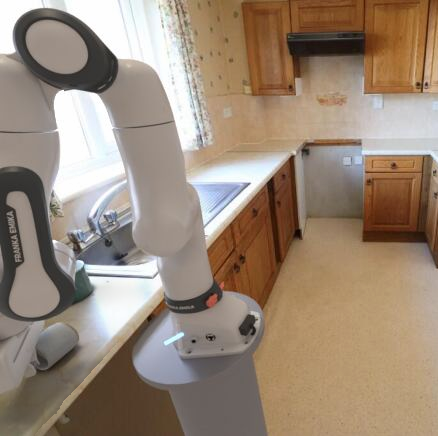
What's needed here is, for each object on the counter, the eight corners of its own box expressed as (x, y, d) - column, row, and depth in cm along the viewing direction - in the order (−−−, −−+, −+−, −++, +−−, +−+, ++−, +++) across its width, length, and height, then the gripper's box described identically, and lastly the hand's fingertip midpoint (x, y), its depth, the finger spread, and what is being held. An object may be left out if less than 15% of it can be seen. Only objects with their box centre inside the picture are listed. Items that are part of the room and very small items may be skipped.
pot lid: (94, 263, 98) (89, 251, 96) (63, 285, 88) (57, 272, 86) (62, 262, 99) (56, 250, 97) (28, 283, 89) (21, 271, 88)
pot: (100, 285, 101) (91, 262, 97) (73, 307, 92) (62, 282, 88) (71, 284, 102) (61, 261, 98) (42, 305, 93) (29, 281, 89)
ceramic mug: (86, 344, 78) (74, 319, 75) (54, 372, 71) (39, 346, 68) (51, 339, 81) (38, 315, 77) (17, 366, 73) (1, 341, 70)
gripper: (4, 351, 54) (39, 406, 59) (37, 286, 70) (61, 334, 76) (-47, 366, 51) (-6, 422, 57) (-1, 295, 68) (27, 344, 73)
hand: (33, 371), depth 66 cm, fingers closed
